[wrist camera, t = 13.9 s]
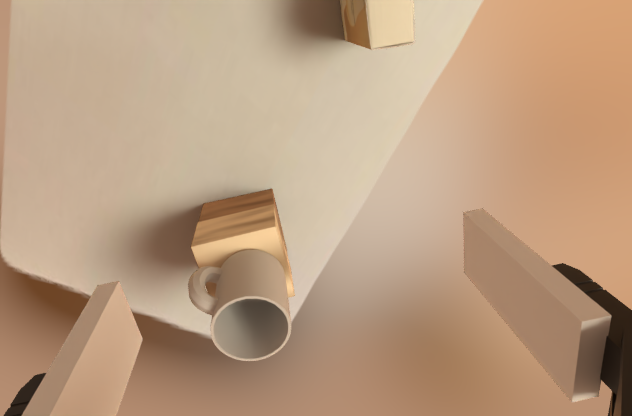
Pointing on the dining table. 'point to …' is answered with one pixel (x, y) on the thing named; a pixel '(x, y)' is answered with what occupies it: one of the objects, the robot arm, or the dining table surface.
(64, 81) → the dining table surface
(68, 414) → the robot arm
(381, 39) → the skincare box
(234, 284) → the cup
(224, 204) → the walnut block
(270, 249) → the beech block
